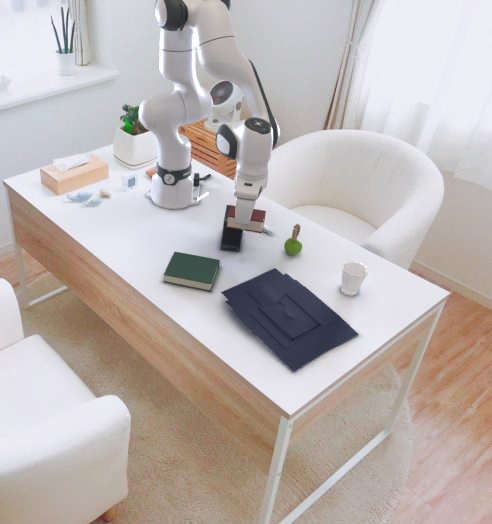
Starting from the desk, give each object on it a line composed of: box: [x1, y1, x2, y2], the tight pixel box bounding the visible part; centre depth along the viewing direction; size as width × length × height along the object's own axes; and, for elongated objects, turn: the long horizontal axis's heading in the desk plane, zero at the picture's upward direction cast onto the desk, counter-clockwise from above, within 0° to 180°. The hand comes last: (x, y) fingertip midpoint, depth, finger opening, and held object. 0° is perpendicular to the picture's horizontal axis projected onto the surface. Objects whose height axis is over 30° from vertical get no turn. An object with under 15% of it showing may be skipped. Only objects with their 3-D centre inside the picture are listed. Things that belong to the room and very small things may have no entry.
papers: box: [220, 267, 359, 372], centre depth 154 cm, size 24×30×4 cm
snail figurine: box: [283, 223, 303, 256], centre depth 176 cm, size 5×6×12 cm
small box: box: [219, 204, 244, 252], centre depth 181 cm, size 11×6×10 cm, turn 168°
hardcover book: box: [163, 251, 221, 293], centre depth 169 cm, size 12×14×3 cm
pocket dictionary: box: [226, 204, 267, 234], centre depth 165 cm, size 6×10×4 cm, turn 72°
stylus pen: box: [262, 223, 274, 236], centre depth 192 cm, size 15×3×2 cm, turn 36°
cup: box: [340, 261, 368, 297], centre depth 163 cm, size 7×10×8 cm
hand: (245, 221), depth 166 cm, fingers closed on pocket dictionary, 6 cm apart
